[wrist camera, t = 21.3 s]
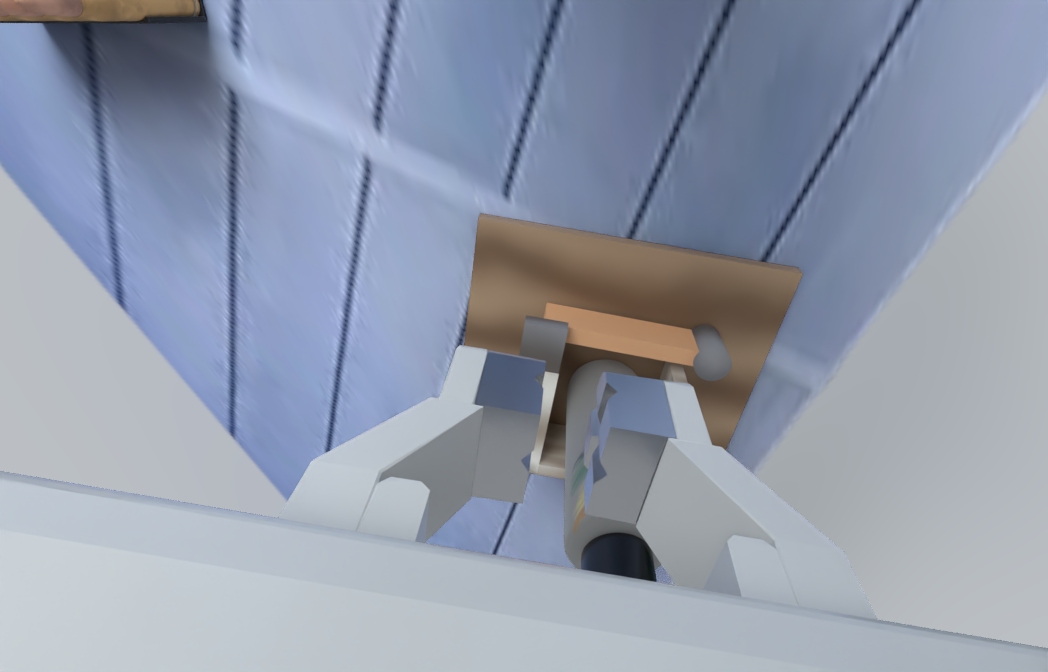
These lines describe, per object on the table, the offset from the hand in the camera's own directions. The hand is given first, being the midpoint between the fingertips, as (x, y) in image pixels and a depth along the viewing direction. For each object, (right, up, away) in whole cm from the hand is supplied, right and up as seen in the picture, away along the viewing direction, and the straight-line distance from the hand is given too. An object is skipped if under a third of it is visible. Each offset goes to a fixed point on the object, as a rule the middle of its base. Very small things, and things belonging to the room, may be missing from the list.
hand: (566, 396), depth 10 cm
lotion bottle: (+5, -3, +34) cm, 34 cm away
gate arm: (+7, +2, +31) cm, 31 cm away
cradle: (+6, -1, +34) cm, 34 cm away
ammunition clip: (-25, +21, +24) cm, 41 cm away
